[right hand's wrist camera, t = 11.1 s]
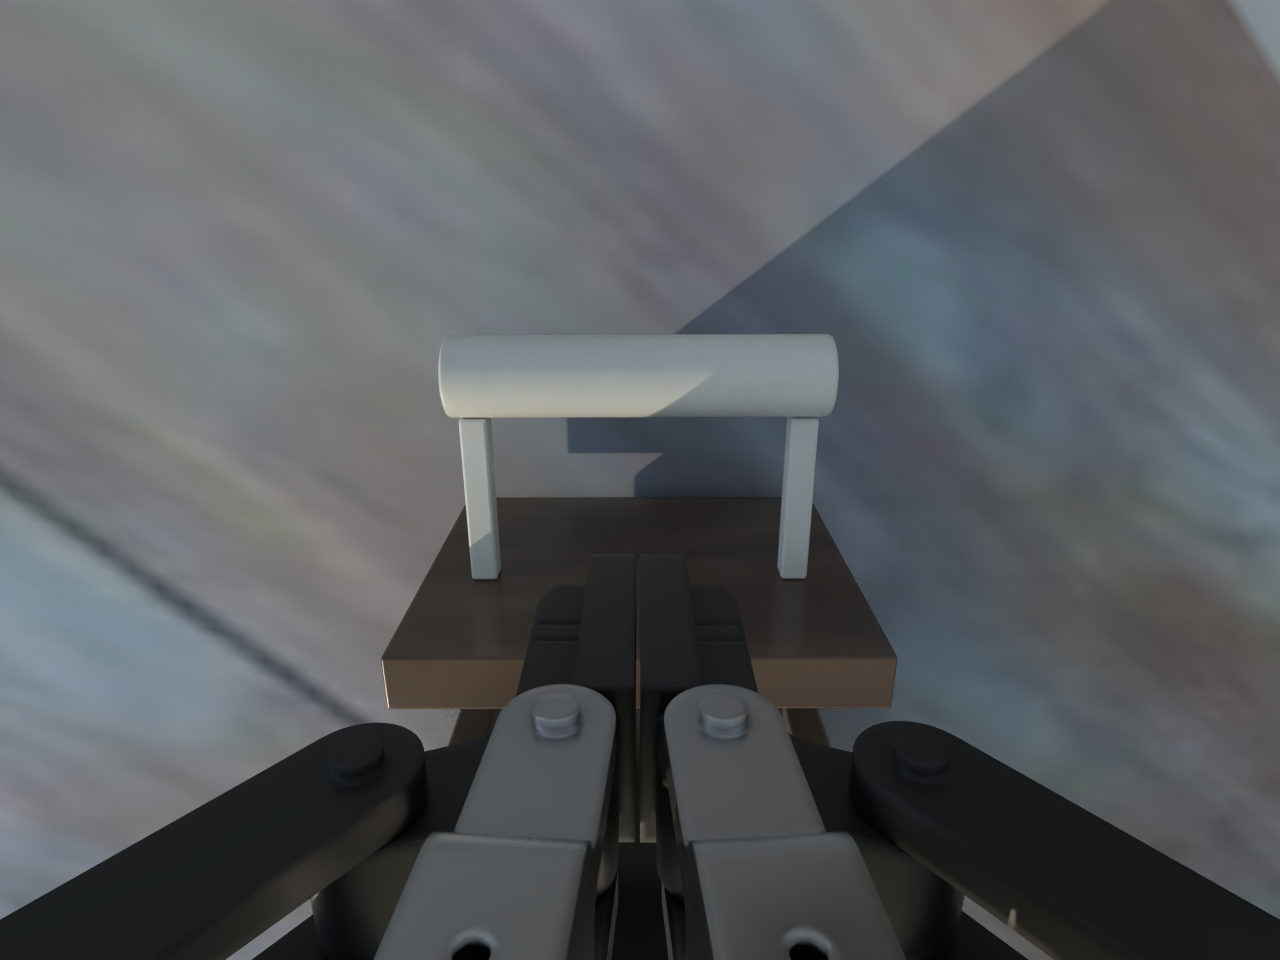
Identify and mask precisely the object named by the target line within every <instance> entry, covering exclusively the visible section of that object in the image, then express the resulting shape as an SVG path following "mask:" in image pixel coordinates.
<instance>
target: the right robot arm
mask: <svg viewBox="0 0 1280 960" xmlns="http://www.w3.org/2000/svg"><path fill="white" fill-rule="evenodd" d="M635 759H636V554H590V560H589V567H588V575H587V582H586V585H556V586H555V587H554V588H553V589H551V590H550V591H549V592H548V593H547V594H546V595H545V596H544V597H543V598H542V599H541V600H540V601H539V603H538V607H537V611H536V615H535V619H534V625H533V627H532V631H531V636H530V641H529V644H528V648H527V652H526V656H525V660H524V664H523V668H522V672H521V677H520V681H519V685H518V689H517V693H516V697H515V698H513V699H512V700H511V701H510V702H509V703H507V704H506V705H505V707H504V708H503V709H502V710H501V712H500V714H499V716H498V718H497V721H496V723H495V726H494V728H493V729H491V730H490V731H488V732H487V733H485V734H483V735H481V736H479V737H477V738H474V739H472V740H469V741H467V742H463V743H460V744H456V745H452V746H447V747H443V748H438V749H434V750H430V751H425V752H424V748H423V745H422V742H421V740H420V739H419V738H418V736H417V735H415V734H414V733H413V732H412V731H410V730H408V729H406V728H404V727H401V726H398V725H395V724H388V723H366V724H360V725H354V726H350V727H347V728H343V729H340V730H338V731H335V732H333V733H331V734H329V735H327V736H325V737H323V738H321V739H319V740H317V741H315V742H314V743H312V744H310V745H308V746H307V747H305V748H303V749H301V750H299V751H298V752H296V753H294V754H292V755H291V756H289V757H287V758H285V759H284V760H282V761H280V762H278V763H276V764H275V765H273V766H271V767H269V768H268V769H266V770H264V771H262V772H261V773H259V774H257V775H255V776H253V777H252V778H250V779H248V780H246V781H245V782H243V783H241V784H239V785H238V786H236V787H234V788H232V789H231V790H229V791H227V792H225V793H223V794H222V795H220V796H218V797H216V798H215V799H213V800H211V801H209V802H208V803H206V804H204V805H202V806H200V807H199V808H197V809H195V810H193V811H192V812H190V813H188V814H186V815H185V816H183V817H181V818H179V819H177V820H176V821H174V822H172V823H170V824H169V825H167V826H165V827H163V828H162V829H160V830H158V831H156V832H154V833H153V834H151V835H149V836H147V837H146V838H144V839H142V840H140V841H139V842H137V843H135V844H133V845H131V846H130V847H128V848H126V849H124V850H123V851H121V852H119V853H117V854H116V855H114V856H112V857H110V858H108V859H107V860H105V861H103V862H101V863H100V864H98V865H96V866H94V867H93V868H91V869H89V870H87V871H86V872H84V873H82V874H80V875H78V876H77V877H75V878H73V879H71V880H70V881H68V882H66V883H64V884H63V885H61V886H59V887H57V888H55V889H54V890H52V891H50V892H48V893H47V894H45V895H43V896H41V897H40V898H38V899H36V900H34V901H32V902H31V903H29V904H27V905H25V906H24V907H22V908H20V909H18V910H17V911H15V912H13V913H11V914H9V915H8V916H6V917H4V918H2V919H1V920H0V960H226V959H227V958H228V957H230V956H231V955H232V954H234V953H235V952H237V951H238V950H239V949H241V948H242V947H243V946H245V945H246V944H248V943H249V942H250V941H252V940H253V939H255V938H256V937H257V936H259V935H260V934H261V933H263V932H264V931H266V930H267V929H268V928H270V927H271V926H273V925H274V924H275V923H277V922H278V921H279V920H281V919H282V918H284V917H285V916H286V915H288V914H289V913H291V912H292V911H293V910H295V909H296V908H298V907H299V906H300V905H302V904H303V903H304V902H306V901H307V900H309V899H310V900H311V905H312V910H313V915H312V916H310V917H309V918H308V919H306V920H305V921H304V922H302V923H301V924H299V925H298V926H297V927H295V928H294V929H293V930H291V931H290V932H289V933H287V934H286V935H285V936H283V937H282V938H281V939H279V940H278V941H276V942H275V943H274V944H272V945H271V946H270V947H268V948H267V949H266V950H264V951H263V952H262V953H260V954H259V955H258V956H256V957H255V958H253V959H252V960H611V957H612V948H613V940H614V932H615V923H616V915H617V906H618V846H619V842H635ZM640 842H656V859H657V871H658V874H659V877H660V880H661V881H662V906H663V915H664V923H665V932H666V940H667V948H668V957H669V960H1028V959H1026V958H1025V957H1024V956H1022V955H1021V954H1020V953H1018V952H1017V951H1016V950H1014V949H1013V948H1012V947H1010V946H1009V945H1008V944H1006V943H1005V942H1004V941H1002V940H1001V939H999V938H998V937H997V936H995V935H994V934H993V933H991V932H990V931H989V930H987V929H986V928H985V927H983V926H982V925H981V924H979V923H978V922H976V921H975V920H974V919H972V918H971V917H970V916H968V915H967V914H966V913H964V912H963V911H962V905H963V900H964V895H966V896H967V897H969V898H970V899H971V900H973V901H974V902H976V903H977V904H978V905H980V906H981V907H982V908H984V909H985V910H987V911H988V912H989V913H991V914H992V915H994V916H995V917H996V918H998V919H999V920H1000V921H1002V922H1003V923H1005V924H1006V925H1007V926H1009V927H1010V928H1012V929H1013V930H1014V931H1016V932H1017V933H1019V934H1020V935H1021V936H1023V937H1024V938H1025V939H1027V940H1028V941H1030V942H1031V943H1032V944H1034V945H1035V946H1037V947H1038V948H1039V949H1041V950H1042V951H1043V952H1045V953H1046V954H1048V955H1049V956H1050V957H1051V958H1053V959H1054V960H1280V920H1279V919H1278V918H1276V917H1274V916H1272V915H1271V914H1269V913H1267V912H1265V911H1263V910H1262V909H1260V908H1258V907H1256V906H1255V905H1253V904H1251V903H1249V902H1248V901H1246V900H1244V899H1242V898H1240V897H1239V896H1237V895H1235V894H1233V893H1232V892H1230V891H1228V890H1226V889H1225V888H1223V887H1221V886H1219V885H1217V884H1216V883H1214V882H1212V881H1210V880H1209V879H1207V878H1205V877H1203V876H1202V875H1200V874H1198V873H1196V872H1194V871H1193V870H1191V869H1189V868H1187V867H1186V866H1184V865H1182V864H1180V863H1179V862H1177V861H1175V860H1173V859H1171V858H1170V857H1168V856H1166V855H1164V854H1163V853H1161V852H1159V851H1157V850H1156V849H1154V848H1152V847H1150V846H1148V845H1147V844H1145V843H1143V842H1141V841H1140V840H1138V839H1136V838H1134V837H1133V836H1131V835H1129V834H1127V833H1126V832H1124V831H1122V830H1120V829H1118V828H1117V827H1115V826H1113V825H1111V824H1110V823H1108V822H1106V821H1104V820H1103V819H1101V818H1099V817H1097V816H1095V815H1094V814H1092V813H1090V812H1088V811H1087V810H1085V809H1083V808H1081V807H1080V806H1078V805H1076V804H1074V803H1072V802H1071V801H1069V800H1067V799H1065V798H1064V797H1062V796H1060V795H1058V794H1057V793H1055V792H1053V791H1051V790H1049V789H1048V788H1046V787H1044V786H1042V785H1041V784H1039V783H1037V782H1035V781H1034V780H1032V779H1030V778H1028V777H1026V776H1025V775H1023V774H1021V773H1019V772H1018V771H1016V770H1014V769H1012V768H1011V767H1009V766H1007V765H1005V764H1003V763H1002V762H1000V761H998V760H996V759H995V758H993V757H991V756H989V755H988V754H986V753H984V752H982V751H980V750H979V749H977V748H975V747H973V746H972V745H970V744H968V743H966V742H965V741H963V740H961V739H959V738H958V737H956V736H954V735H952V734H950V733H948V732H946V731H944V730H941V729H938V728H936V727H933V726H929V725H926V724H921V723H916V722H907V721H891V722H885V723H880V724H877V725H874V726H871V727H870V728H868V729H866V730H865V731H863V732H862V733H861V734H860V735H859V736H858V738H857V739H856V741H855V744H854V747H853V753H852V752H848V751H844V750H839V749H835V748H830V747H826V746H821V745H817V744H814V743H810V742H807V741H805V740H802V739H799V738H797V737H795V736H793V735H791V734H789V733H788V731H787V729H786V726H785V723H784V721H783V718H782V716H781V714H780V712H779V710H778V709H777V708H776V707H775V705H774V704H773V703H771V702H770V701H769V700H768V699H767V698H765V697H763V696H762V695H760V694H758V689H757V685H756V681H755V676H754V672H753V668H752V664H751V659H750V655H749V651H748V646H747V642H746V641H745V634H744V629H743V625H742V621H741V616H740V612H739V608H738V604H737V601H736V600H735V599H734V598H733V597H732V596H731V595H730V594H728V593H727V592H726V591H725V590H724V589H723V588H722V587H721V586H720V585H689V577H688V569H687V560H686V555H685V554H640Z"/></svg>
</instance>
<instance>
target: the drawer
mask: <svg viewBox="0 0 1280 960" xmlns="http://www.w3.org/2000/svg"><path fill="white" fill-rule="evenodd" d="M438 376H439V389H440V396H441V401H442V404H443V407H444V410H445V412H446V414H447V415H448V416H449V417H452V418H461V419H460V420H459V432H460V443H461V455H462V467H463V478H464V490H465V502H466V504H465V506H464V508H463V510H462V512H461V514H460V515H459V517H458V519H457V521H456V523H455V524H454V526H453V528H452V530H451V532H450V534H449V535H448V537H447V539H446V541H445V543H444V545H443V546H442V548H441V550H440V552H439V554H438V555H437V557H436V559H435V561H434V563H433V565H432V566H431V568H430V570H429V572H428V574H427V575H426V577H425V579H424V581H423V583H422V585H421V586H420V588H419V590H418V592H417V594H416V596H415V597H414V599H413V601H412V603H411V605H410V606H409V608H408V610H407V612H406V614H405V616H404V617H403V619H402V621H401V623H400V625H399V626H398V628H397V630H396V632H395V634H394V636H393V637H392V639H391V641H390V643H389V645H388V647H387V648H386V650H385V652H384V654H383V656H382V658H381V663H382V670H383V677H384V685H385V692H386V699H387V706H388V708H389V709H461V710H460V712H459V715H458V718H457V721H456V724H455V727H454V730H453V733H452V736H451V739H450V742H449V744H448V746H452V745H456V744H460V743H463V742H467V741H469V740H472V739H474V738H477V737H479V736H481V735H483V734H485V733H487V732H488V731H490V730H491V729H493V728H494V726H495V723H496V721H497V718H498V716H499V714H500V712H501V710H502V709H503V708H504V707H505V705H506V704H507V703H509V702H510V701H511V700H512V699H513V698H515V697H516V693H517V689H518V685H519V681H520V677H521V672H522V668H523V664H524V660H525V656H526V652H527V648H528V644H529V641H530V636H531V631H532V627H533V625H534V619H535V615H536V611H537V607H538V603H539V601H540V600H541V599H542V598H543V597H544V596H545V595H546V594H547V593H548V592H549V591H550V590H551V589H553V588H554V587H555V586H556V585H586V582H587V575H588V567H589V560H590V554H636V759H635V842H619V846H618V906H617V915H616V923H615V932H614V940H613V948H612V957H611V960H669V957H668V948H667V940H666V932H665V923H664V915H663V906H662V881H661V880H660V877H659V874H658V871H657V859H656V842H640V554H685V555H686V560H687V569H688V577H689V585H720V586H721V587H722V588H723V589H724V590H725V591H726V592H727V593H728V594H730V595H731V596H732V597H733V598H734V599H735V600H736V601H737V604H738V608H739V612H740V616H741V621H742V625H743V629H744V634H745V641H746V642H747V646H748V651H749V655H750V659H751V664H752V668H753V672H754V676H755V681H756V685H757V689H758V694H760V695H762V696H763V697H765V698H767V699H768V700H769V701H770V702H771V703H773V704H774V705H775V707H776V708H777V709H778V710H779V712H780V714H781V716H782V718H783V721H784V723H785V726H786V729H787V731H788V733H789V734H791V735H793V736H795V737H797V738H799V739H802V740H805V741H807V742H810V743H814V744H817V745H821V746H826V747H830V748H831V745H830V742H829V739H828V737H827V734H826V731H825V728H824V725H823V722H822V719H821V716H820V713H819V710H818V708H890V707H891V703H892V695H893V688H894V680H895V672H896V664H897V656H896V654H895V652H894V650H893V649H892V647H891V645H890V643H889V641H888V639H887V638H886V636H885V634H884V632H883V630H882V628H881V627H880V625H879V623H878V621H877V619H876V617H875V616H874V614H873V612H872V610H871V608H870V606H869V605H868V603H867V601H866V599H865V597H864V595H863V594H862V592H861V590H860V588H859V586H858V585H857V583H856V581H855V579H854V577H853V575H852V574H851V572H850V570H849V568H848V566H847V564H846V563H845V561H844V559H843V557H842V555H841V553H840V552H839V550H838V548H837V546H836V544H835V542H834V541H833V539H832V537H831V535H830V533H829V531H828V530H827V528H826V526H825V524H824V522H823V521H822V519H821V517H820V515H819V513H818V511H817V510H816V508H815V506H814V504H813V489H814V477H815V464H816V451H817V439H818V426H819V420H818V418H817V417H826V416H828V415H830V414H831V412H832V410H833V408H834V405H835V401H836V397H837V391H838V380H839V362H838V352H837V347H836V344H835V341H834V338H833V337H832V336H831V335H829V334H621V335H448V336H446V337H445V338H444V339H443V342H442V345H441V349H440V354H439V366H438ZM508 417H787V425H786V441H785V456H784V472H783V487H782V497H623V498H496V487H495V473H494V459H493V445H492V431H491V418H508Z"/></svg>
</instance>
